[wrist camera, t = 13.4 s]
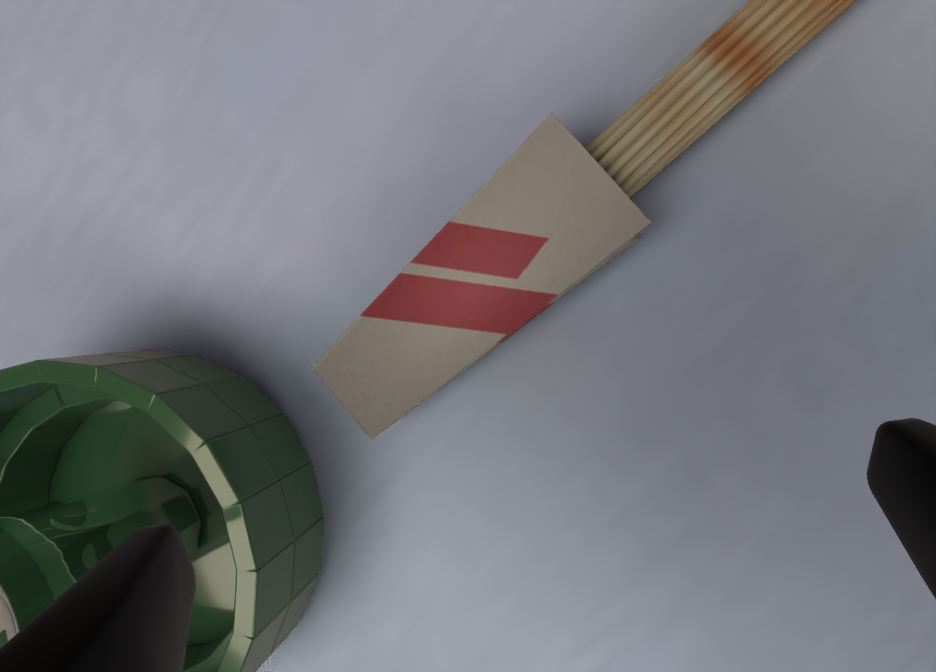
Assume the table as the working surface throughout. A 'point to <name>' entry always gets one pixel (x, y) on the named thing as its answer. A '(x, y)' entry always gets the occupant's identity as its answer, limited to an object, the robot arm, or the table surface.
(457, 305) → the paintbrush
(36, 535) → the milkshake
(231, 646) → the bowl
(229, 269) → the table surface
